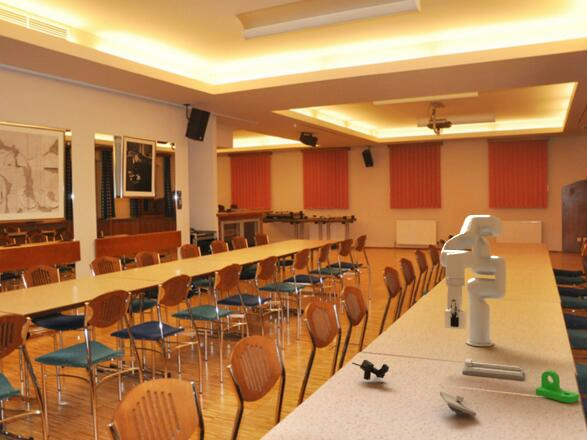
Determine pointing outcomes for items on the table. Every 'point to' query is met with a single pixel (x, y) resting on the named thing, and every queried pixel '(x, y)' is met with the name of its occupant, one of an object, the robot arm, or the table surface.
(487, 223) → the robot arm
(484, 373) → the rail plate
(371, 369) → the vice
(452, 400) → the light switch
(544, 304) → the table surface
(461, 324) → the block
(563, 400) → the mechanical part
